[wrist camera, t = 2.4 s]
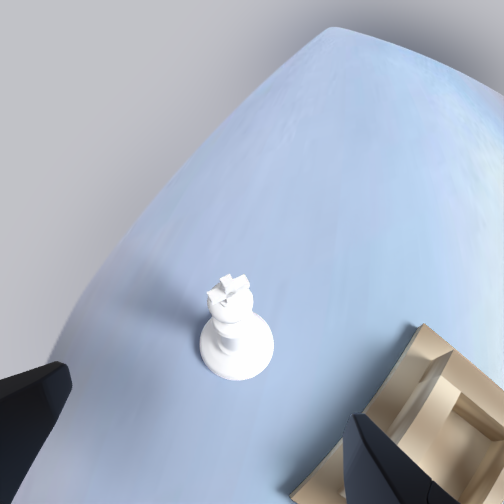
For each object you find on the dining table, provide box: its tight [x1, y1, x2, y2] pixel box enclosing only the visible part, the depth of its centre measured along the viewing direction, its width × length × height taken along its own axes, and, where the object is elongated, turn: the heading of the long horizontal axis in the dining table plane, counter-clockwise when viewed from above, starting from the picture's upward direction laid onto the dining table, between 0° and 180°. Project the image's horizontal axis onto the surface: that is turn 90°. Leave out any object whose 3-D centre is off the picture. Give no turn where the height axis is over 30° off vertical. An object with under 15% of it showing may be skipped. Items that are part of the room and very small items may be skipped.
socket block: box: [289, 324, 504, 504], centre depth 14 cm, size 15×15×4 cm
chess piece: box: [200, 274, 274, 381], centre depth 17 cm, size 5×5×10 cm
